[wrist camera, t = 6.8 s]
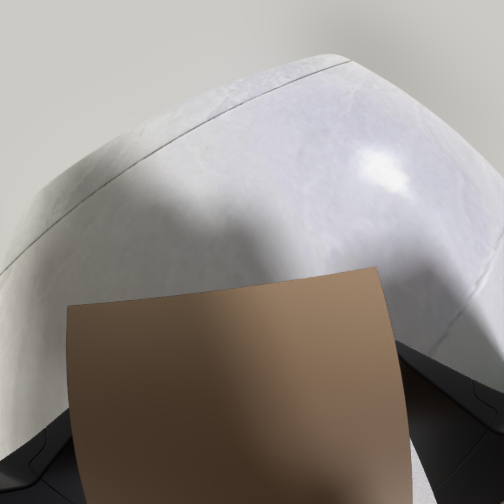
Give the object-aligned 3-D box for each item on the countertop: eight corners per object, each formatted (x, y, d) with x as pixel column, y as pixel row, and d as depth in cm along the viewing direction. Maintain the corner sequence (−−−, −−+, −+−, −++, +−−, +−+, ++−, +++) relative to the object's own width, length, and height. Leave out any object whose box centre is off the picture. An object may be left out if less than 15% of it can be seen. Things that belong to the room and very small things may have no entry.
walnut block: (304, 432, 15) (410, 546, 2) (220, 442, 15) (110, 566, 2) (292, 354, 17) (375, 267, 4) (210, 365, 17) (67, 306, 4)
